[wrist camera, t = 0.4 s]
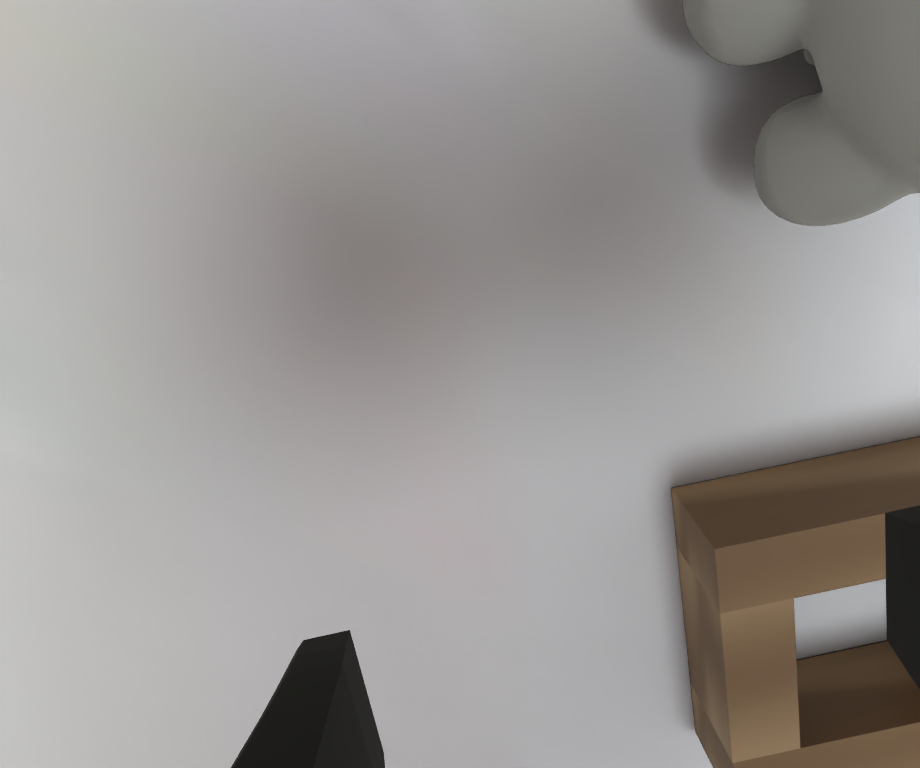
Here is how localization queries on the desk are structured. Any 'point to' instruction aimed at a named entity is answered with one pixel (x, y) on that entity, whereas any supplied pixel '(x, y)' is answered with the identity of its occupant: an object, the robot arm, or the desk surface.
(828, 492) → the hole block
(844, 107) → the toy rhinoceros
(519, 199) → the desk surface
